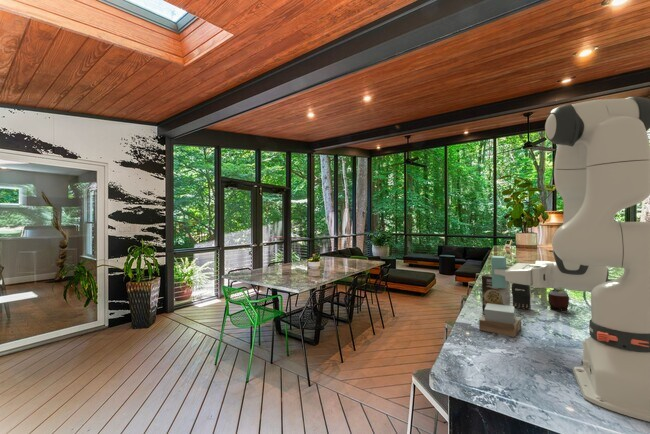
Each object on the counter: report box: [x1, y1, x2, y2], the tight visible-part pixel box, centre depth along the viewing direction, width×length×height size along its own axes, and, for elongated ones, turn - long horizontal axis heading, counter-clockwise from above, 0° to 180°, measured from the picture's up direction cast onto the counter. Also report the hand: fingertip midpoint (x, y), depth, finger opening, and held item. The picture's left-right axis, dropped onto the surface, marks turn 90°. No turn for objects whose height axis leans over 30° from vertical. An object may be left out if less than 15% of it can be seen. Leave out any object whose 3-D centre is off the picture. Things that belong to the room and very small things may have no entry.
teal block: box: [490, 255, 508, 289], centre depth 109 cm, size 4×4×11 cm
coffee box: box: [481, 273, 511, 315], centre depth 125 cm, size 9×6×16 cm
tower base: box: [478, 314, 522, 337], centre depth 109 cm, size 11×11×4 cm
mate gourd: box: [547, 288, 570, 312], centre depth 130 cm, size 8×8×15 cm
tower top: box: [484, 303, 516, 324], centre depth 109 cm, size 9×9×4 cm
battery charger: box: [511, 283, 532, 310], centre depth 132 cm, size 7×4×11 cm, turn 47°
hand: (496, 270), depth 110 cm, fingers closed on teal block, 4 cm apart
